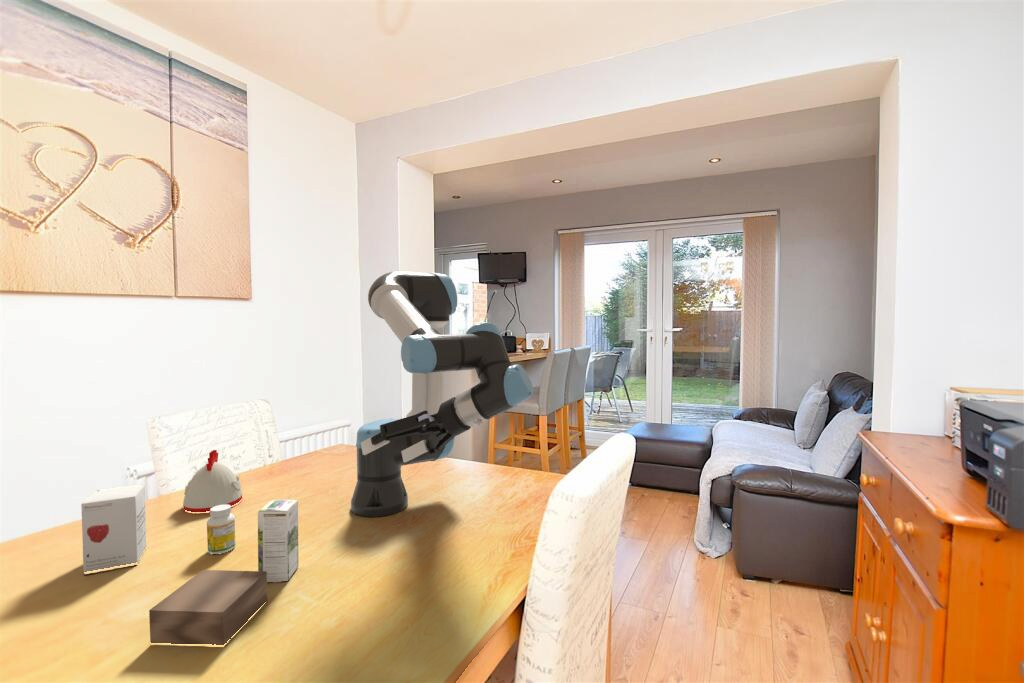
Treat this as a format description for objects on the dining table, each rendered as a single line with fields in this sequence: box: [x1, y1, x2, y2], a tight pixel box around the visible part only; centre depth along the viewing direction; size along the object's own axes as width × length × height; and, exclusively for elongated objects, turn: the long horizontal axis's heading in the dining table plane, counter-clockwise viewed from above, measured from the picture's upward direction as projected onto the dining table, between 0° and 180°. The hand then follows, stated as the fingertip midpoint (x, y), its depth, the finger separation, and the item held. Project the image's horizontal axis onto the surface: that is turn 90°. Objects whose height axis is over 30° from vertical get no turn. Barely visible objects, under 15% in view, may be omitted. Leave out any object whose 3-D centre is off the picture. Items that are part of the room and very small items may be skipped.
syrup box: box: [257, 499, 299, 583], centre depth 94 cm, size 6×6×14 cm
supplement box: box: [80, 483, 147, 573], centre depth 100 cm, size 9×9×15 cm
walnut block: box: [148, 569, 268, 645], centre depth 80 cm, size 12×12×6 cm
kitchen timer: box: [182, 449, 243, 512], centre depth 131 cm, size 14×14×15 cm
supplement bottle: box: [206, 504, 237, 555], centre depth 105 cm, size 5×5×10 cm
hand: (384, 453), depth 104 cm, fingers open, 13 cm apart
